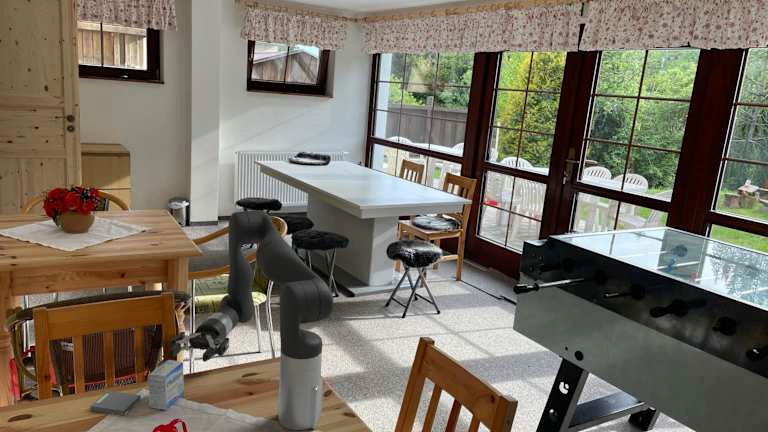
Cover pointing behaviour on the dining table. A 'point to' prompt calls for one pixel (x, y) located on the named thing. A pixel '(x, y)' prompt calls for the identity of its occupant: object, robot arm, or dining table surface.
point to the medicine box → (166, 384)
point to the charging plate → (115, 402)
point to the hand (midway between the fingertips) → (187, 356)
